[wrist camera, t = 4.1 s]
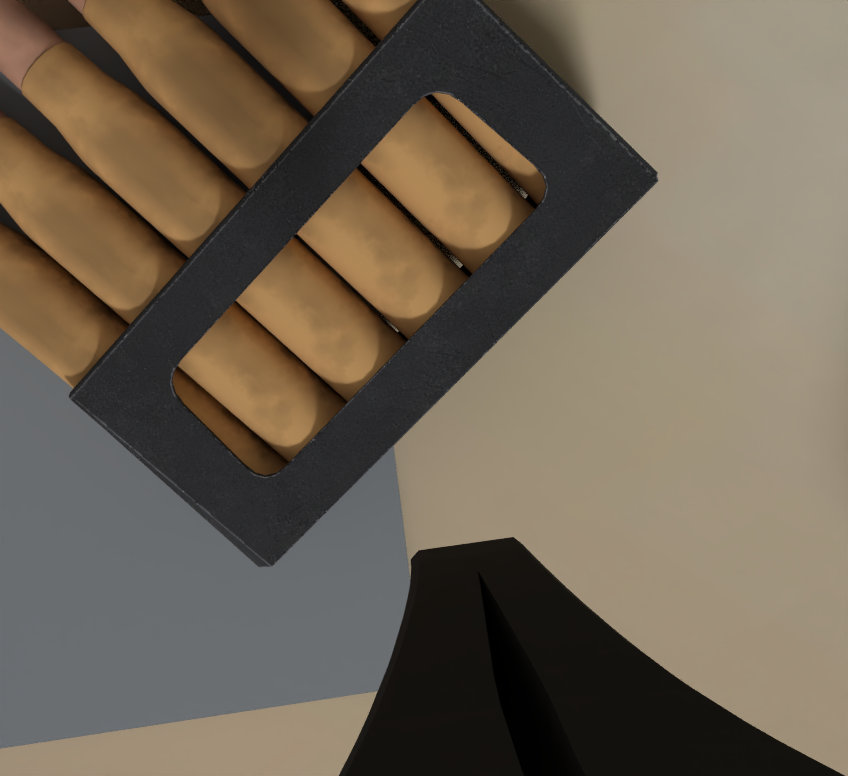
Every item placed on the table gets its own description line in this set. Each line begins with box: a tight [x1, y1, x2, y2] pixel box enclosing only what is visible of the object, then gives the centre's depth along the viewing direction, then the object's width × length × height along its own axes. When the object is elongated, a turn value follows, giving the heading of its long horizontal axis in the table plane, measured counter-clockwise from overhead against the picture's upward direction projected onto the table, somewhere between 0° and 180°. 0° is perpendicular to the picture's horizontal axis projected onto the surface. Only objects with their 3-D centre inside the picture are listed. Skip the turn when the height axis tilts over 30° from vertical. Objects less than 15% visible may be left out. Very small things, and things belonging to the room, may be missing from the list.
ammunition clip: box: [0, 0, 658, 568], centre depth 15 cm, size 11×2×12 cm
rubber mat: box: [0, 2, 410, 748], centre depth 17 cm, size 14×16×1 cm
